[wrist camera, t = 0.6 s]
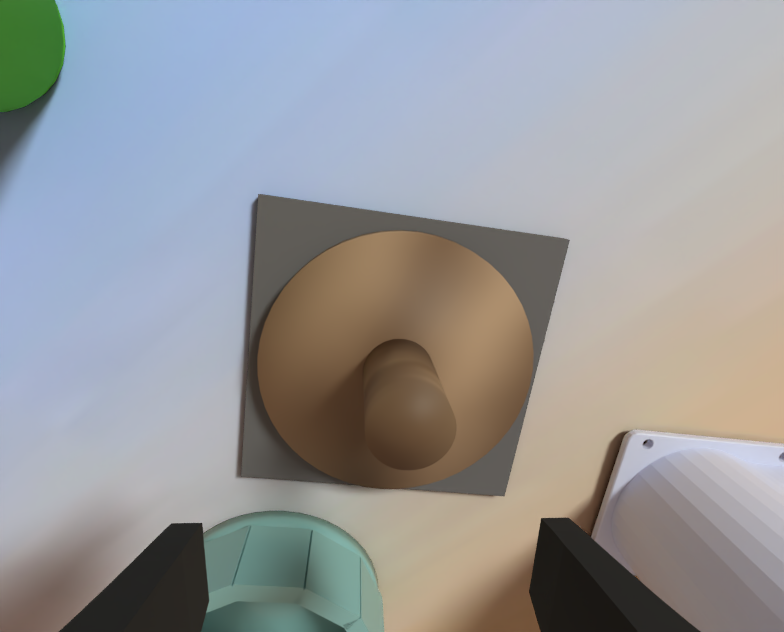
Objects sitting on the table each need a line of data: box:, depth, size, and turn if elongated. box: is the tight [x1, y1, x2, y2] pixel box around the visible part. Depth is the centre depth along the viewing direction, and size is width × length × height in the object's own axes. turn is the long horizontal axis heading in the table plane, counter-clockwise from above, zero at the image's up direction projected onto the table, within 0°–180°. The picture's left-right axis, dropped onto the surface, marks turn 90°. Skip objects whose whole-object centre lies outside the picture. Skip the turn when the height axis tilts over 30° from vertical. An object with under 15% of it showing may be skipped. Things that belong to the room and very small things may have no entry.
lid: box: [257, 230, 534, 489], centre depth 16 cm, size 11×11×5 cm
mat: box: [241, 194, 569, 496], centre depth 19 cm, size 12×12×1 cm
